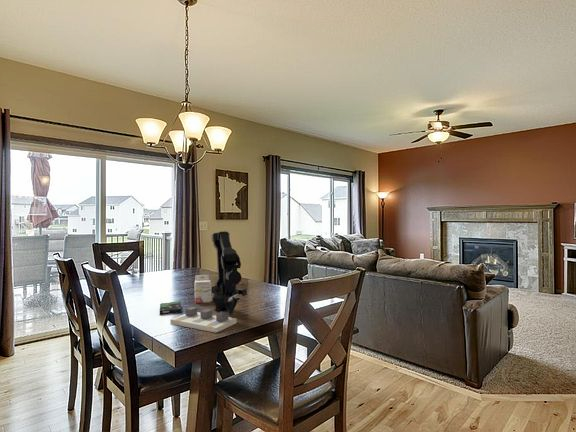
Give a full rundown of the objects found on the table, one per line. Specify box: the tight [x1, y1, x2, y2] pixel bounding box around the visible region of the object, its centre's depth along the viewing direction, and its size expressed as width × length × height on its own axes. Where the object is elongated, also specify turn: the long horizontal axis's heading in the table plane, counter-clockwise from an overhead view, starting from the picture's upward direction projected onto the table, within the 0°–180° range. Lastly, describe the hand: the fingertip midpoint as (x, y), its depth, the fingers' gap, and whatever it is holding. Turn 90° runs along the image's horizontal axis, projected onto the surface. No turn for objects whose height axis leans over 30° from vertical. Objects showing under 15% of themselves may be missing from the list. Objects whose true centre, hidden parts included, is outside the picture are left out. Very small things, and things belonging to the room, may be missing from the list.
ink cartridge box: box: [194, 274, 212, 304], centre depth 191 cm, size 9×5×15 cm, turn 110°
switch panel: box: [169, 311, 238, 333], centre depth 154 cm, size 14×26×2 cm, turn 62°
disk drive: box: [159, 301, 182, 316], centre depth 175 cm, size 10×3×15 cm
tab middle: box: [200, 308, 213, 319], centre depth 155 cm, size 4×4×3 cm
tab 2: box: [215, 311, 229, 322], centre depth 151 cm, size 4×4×3 cm
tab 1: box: [185, 306, 198, 316], centre depth 159 cm, size 4×4×3 cm
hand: (230, 314), depth 156 cm, fingers closed
